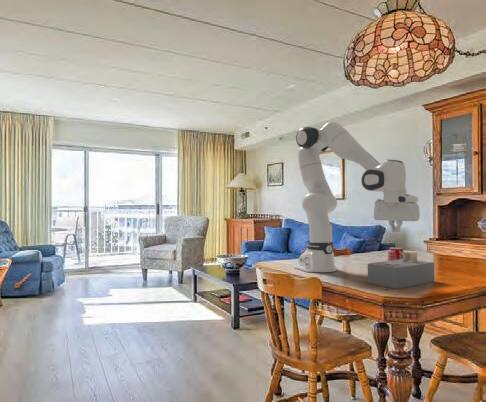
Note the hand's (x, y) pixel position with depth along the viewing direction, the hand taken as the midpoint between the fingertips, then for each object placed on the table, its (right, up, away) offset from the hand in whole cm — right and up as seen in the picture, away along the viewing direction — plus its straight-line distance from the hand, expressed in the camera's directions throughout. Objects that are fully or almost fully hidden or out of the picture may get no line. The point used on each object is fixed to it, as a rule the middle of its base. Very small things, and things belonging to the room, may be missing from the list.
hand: (395, 231), depth 159 cm
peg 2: (+8, -17, +4) cm, 19 cm away
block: (+3, -21, +1) cm, 21 cm away
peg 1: (-2, -21, -2) cm, 21 cm away
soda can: (+9, -21, +21) cm, 31 cm away
